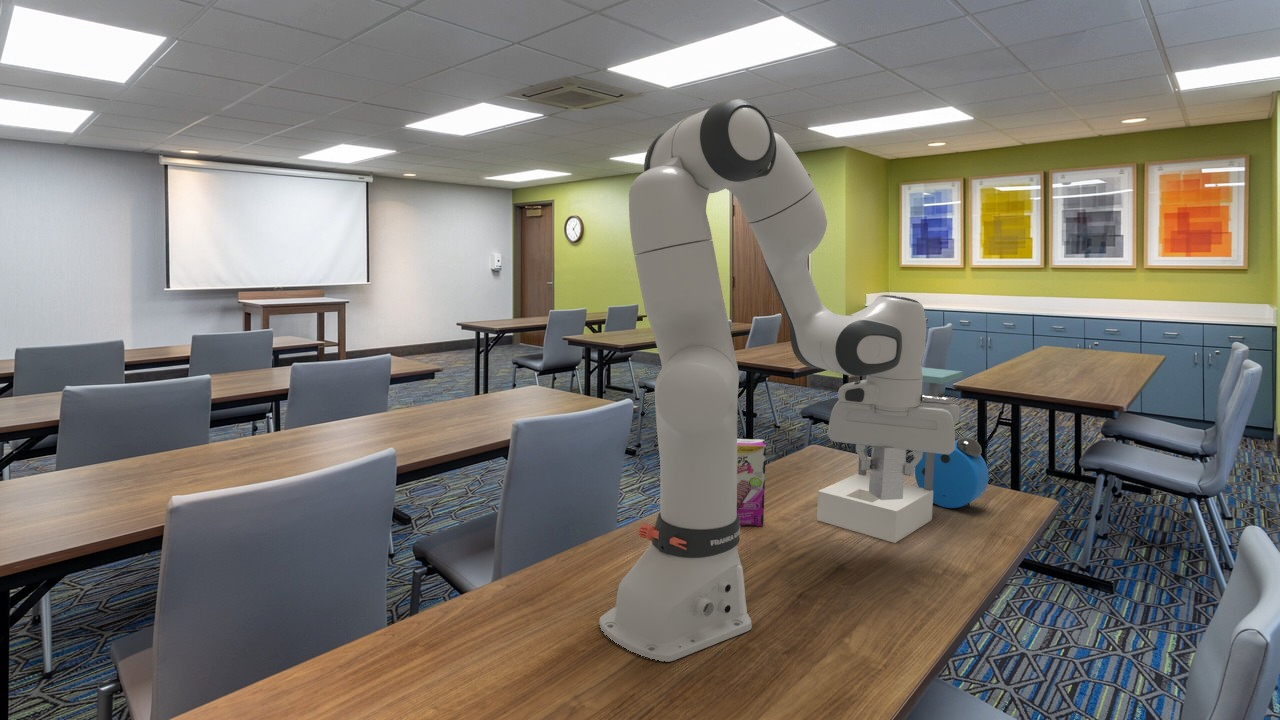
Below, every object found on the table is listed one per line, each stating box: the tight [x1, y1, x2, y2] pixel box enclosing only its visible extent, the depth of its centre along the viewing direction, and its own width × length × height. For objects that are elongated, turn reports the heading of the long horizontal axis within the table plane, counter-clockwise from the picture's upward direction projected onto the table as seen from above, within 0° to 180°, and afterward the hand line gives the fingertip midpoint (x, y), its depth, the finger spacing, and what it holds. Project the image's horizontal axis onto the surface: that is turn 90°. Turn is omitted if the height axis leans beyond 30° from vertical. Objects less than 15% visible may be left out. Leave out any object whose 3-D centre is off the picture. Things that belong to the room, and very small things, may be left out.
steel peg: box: [869, 446, 907, 500], centre depth 117 cm, size 4×4×9 cm
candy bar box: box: [737, 438, 767, 527], centre depth 134 cm, size 11×5×16 cm, turn 84°
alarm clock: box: [914, 437, 990, 509], centre depth 142 cm, size 13×6×15 cm, turn 41°
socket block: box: [816, 366, 964, 544], centre depth 135 cm, size 22×20×29 cm
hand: (887, 472), depth 117 cm, fingers closed on steel peg, 6 cm apart
